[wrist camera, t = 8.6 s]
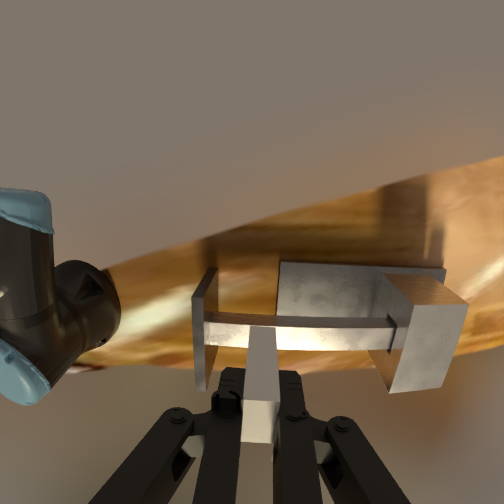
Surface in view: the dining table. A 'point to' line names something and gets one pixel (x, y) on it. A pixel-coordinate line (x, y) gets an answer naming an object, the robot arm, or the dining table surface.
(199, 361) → the grey crossbar bracket
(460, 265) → the dining table surface
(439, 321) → the block
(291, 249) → the dining table surface
